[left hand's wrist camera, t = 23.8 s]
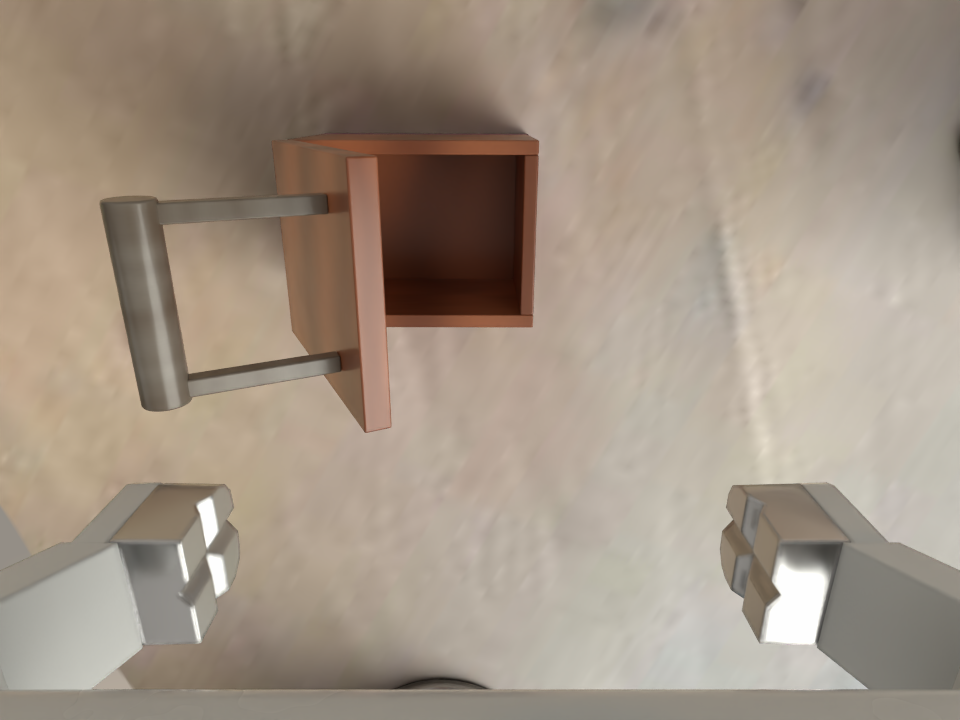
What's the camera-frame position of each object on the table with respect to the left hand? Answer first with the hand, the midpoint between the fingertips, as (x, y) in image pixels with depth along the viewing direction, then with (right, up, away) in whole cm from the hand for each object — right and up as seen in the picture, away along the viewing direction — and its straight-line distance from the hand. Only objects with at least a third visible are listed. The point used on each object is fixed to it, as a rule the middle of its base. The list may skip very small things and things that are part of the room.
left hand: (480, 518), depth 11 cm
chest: (-3, +12, +31) cm, 34 cm away
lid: (-6, +7, +17) cm, 20 cm away
